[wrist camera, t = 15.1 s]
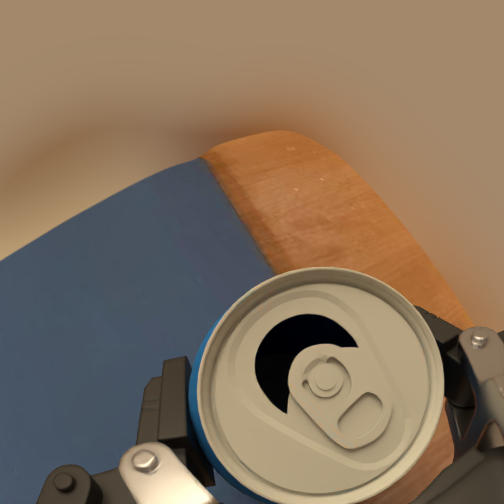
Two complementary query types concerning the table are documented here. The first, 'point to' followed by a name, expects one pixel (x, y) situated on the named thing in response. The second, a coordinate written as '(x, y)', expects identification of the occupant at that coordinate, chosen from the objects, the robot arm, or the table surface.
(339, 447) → the beverage can
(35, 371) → the table surface
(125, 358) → the table surface
